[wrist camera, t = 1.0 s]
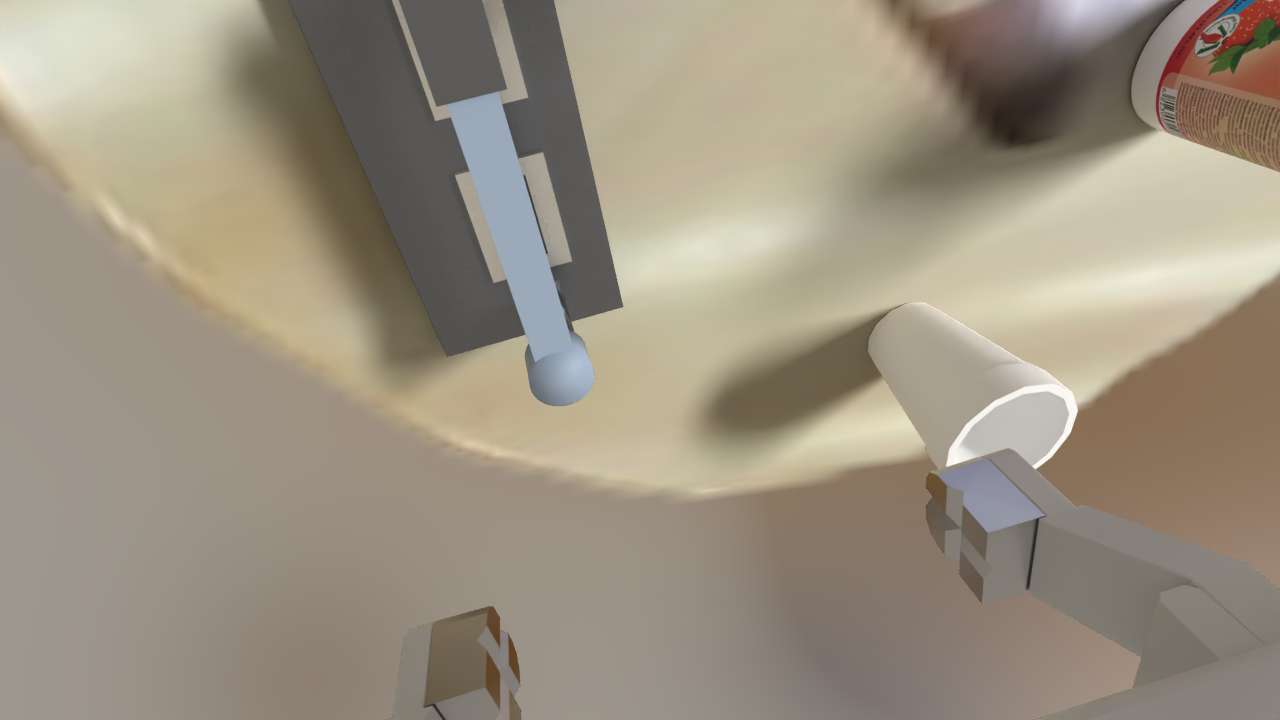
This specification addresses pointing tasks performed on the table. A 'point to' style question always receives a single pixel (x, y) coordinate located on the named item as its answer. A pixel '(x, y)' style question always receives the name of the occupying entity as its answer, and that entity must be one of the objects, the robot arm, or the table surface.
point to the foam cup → (968, 389)
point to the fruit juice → (1215, 77)
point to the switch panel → (439, 175)
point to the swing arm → (499, 185)
